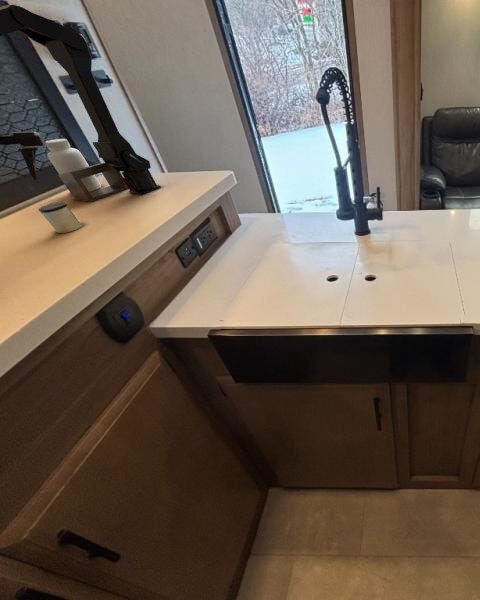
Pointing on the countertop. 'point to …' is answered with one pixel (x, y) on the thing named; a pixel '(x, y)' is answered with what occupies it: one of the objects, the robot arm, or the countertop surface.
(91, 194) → the frame
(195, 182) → the countertop surface
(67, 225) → the spice tin
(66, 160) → the pill bottle
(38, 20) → the robot arm
